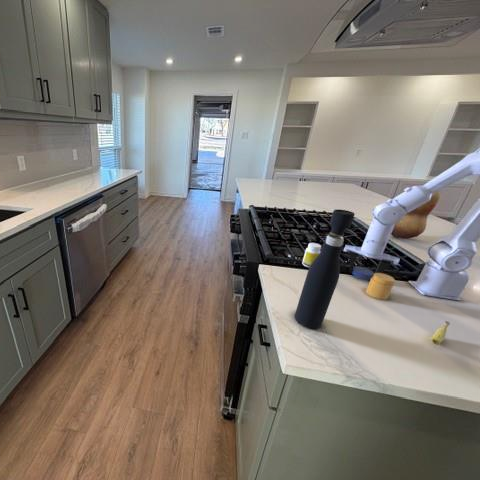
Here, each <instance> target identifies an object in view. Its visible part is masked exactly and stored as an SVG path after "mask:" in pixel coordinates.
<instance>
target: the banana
mask: <svg viewBox="0 0 480 480" xmlns="http://www.w3.org/2000/svg"><path fill="white" fill-rule="evenodd" d="M444 322H445V325H443V326H442V327H440V328H438V329H437V330H436V331H435V333H434V334H433V335H432V336H431V338H430V340H431V342H432V344H434V345H441V344H442V342H444V339H445V338H446V335H447V328H449V327H448V326H450V324H451V323H450V322H449V321H445V320H444Z"/></svg>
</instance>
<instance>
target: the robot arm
mask: <svg viewBox="0 0 480 480" xmlns="http://www.w3.org/2000/svg"><path fill="white" fill-rule="evenodd" d="M476 175H480V148H478V149H476V150H475V151H472V152H471V153H468V154H467V155H465V156H464V157H463V158H462V159H461V160H460V161H458V162H457V163H454V164H453V165H452V166H450V167H449V168H448V169H446V170H445V171H443V172H442V173H440V174H438V175H437V176H435V177H433V178H431V180H429V181H428V182H426V183H425V184H422V185H412V186H413V187H412V186H410V187H411V188H410V187H409V186H408V187H406V188H404V189H403V192H401V193H400V194H398V195H397V196H395V197H393V198H392V199H391V198H389V199H387V200H386V202H385V203H384V202H383V203H380V204H378V205H377V206H375V208H373V209H372V211H371V212H372V216H373V218H372V221H371V223H370V225H369V227H368V229H367V233H366V234H365V238H364V240H363V243H362V245H361V246H356V245H355V246H354V245H350V244H345V246H344V249H343V252H345V253H348V254H347V255H348V256H347V257H348V260H349V271H348V273H349V274H352V271H353V268H354V267H355V264H356V261H357V259H358V256H363V257H366V258H370V259H375V260H378V261H379V262H378V265H377V268H376V269H375V271H374V274H375V273H384V271H386V270H387V269H389V268H390V267H391V264H392V265H394V266H398V265H399V262H400V259H401V258H400V257H397V256H394V255H391V254H388V253H385V252H384V251H385V250H386V247H387V244H388V242H389V240H390V237H391V236H392V235H391V233H392V231H393V228H394V225H395V223H398V222H400V221H401V220H402V218H403V216H404V215H405V214H407V213H409V212H410V211H412V210H414V209H416V208H418V207H419V206H421V205H423V204H425V203H427V202H428V201H430V199H431V196H432V194H434V193H436V192H438V191H439V192H441V190H444V189H446V188H448V187H449V186H452V185H453V184H455V183H457V182H459V181H461V180H463V179H465V178H467V177H469V176H476ZM479 240H480V197H479V198H478V199H477V200H476V202H475V203H474V204H473V205H472V206H471V208H470V209H469V210H468V211H467V213H466V214H465V215H464V216H463V218H461V220H460V221H459V223H458V224H457V225H456V226H455V228H454V229H453V230H452V231H451V233H449V234H445V235H444V236H441V237H440V238H439V240H437V241H436V242H434V243H432V244H430V246H429V247H428V248H427V255H428V259H427V260H426V262H425V264H424V266H423V268H422V270H421V272H420V273H419V276H418V278H417V280H415V281H414V280H408V284H410V285H411V286H412V287H413V288H415V289H416V290H417V291H418V293H420V294H421V295H422V296H428V297H434V298H441V299H448V300H455V301H461V298H460V296H461V294H462V293H463V291H464V290H465V288H466V286H467V284H468V282H469V278H470V277H469V273H468V272H467V271H466V270H467V269H469V268H470V267H471V265H472V264H473V258H474V256H475V255H476V254H477V246H476V245H477V244H476V243H477V242H478V241H479Z"/></svg>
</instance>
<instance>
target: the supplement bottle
mask: <svg viewBox="0 0 480 480" xmlns="http://www.w3.org/2000/svg"><path fill="white" fill-rule="evenodd" d="M321 250H322V245H321V244H320V243H316V242H309V243H308V245H307V247H306V248H305V250H304V254H303V257H302V262H301V264H302V265H303V266H304V267H306V268H308V269H309V268H310V266H311V264H312V263H313V261H314V260H315V259H316V257H317V256H318V255H319V254H320V253H321Z"/></svg>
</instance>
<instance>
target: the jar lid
mask: <svg viewBox="0 0 480 480" xmlns="http://www.w3.org/2000/svg"><path fill="white" fill-rule="evenodd" d="M374 273H375V271H373V270H371V269H370V268H366V267H363V266H354V267H353V271H352V273H351V274H352V275H353V276H354V277H357V278H358V279H362V280H366V281H367V280H368V281H370V280H371V278H372V277H373V276H374Z"/></svg>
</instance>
